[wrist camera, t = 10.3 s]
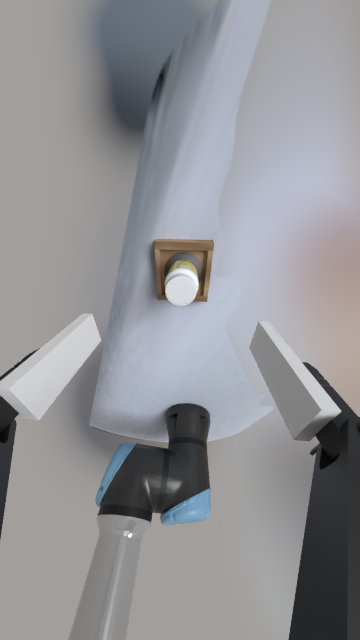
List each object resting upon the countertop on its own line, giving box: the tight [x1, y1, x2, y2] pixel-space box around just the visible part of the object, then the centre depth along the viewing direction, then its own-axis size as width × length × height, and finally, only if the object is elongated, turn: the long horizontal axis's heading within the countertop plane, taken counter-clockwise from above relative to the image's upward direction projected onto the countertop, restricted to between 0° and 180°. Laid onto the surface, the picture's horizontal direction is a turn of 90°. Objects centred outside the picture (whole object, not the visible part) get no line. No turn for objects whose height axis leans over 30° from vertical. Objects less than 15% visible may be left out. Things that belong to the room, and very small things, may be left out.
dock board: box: [154, 239, 214, 302], centre depth 26 cm, size 10×9×2 cm
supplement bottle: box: [165, 259, 199, 306], centre depth 23 cm, size 5×5×8 cm
